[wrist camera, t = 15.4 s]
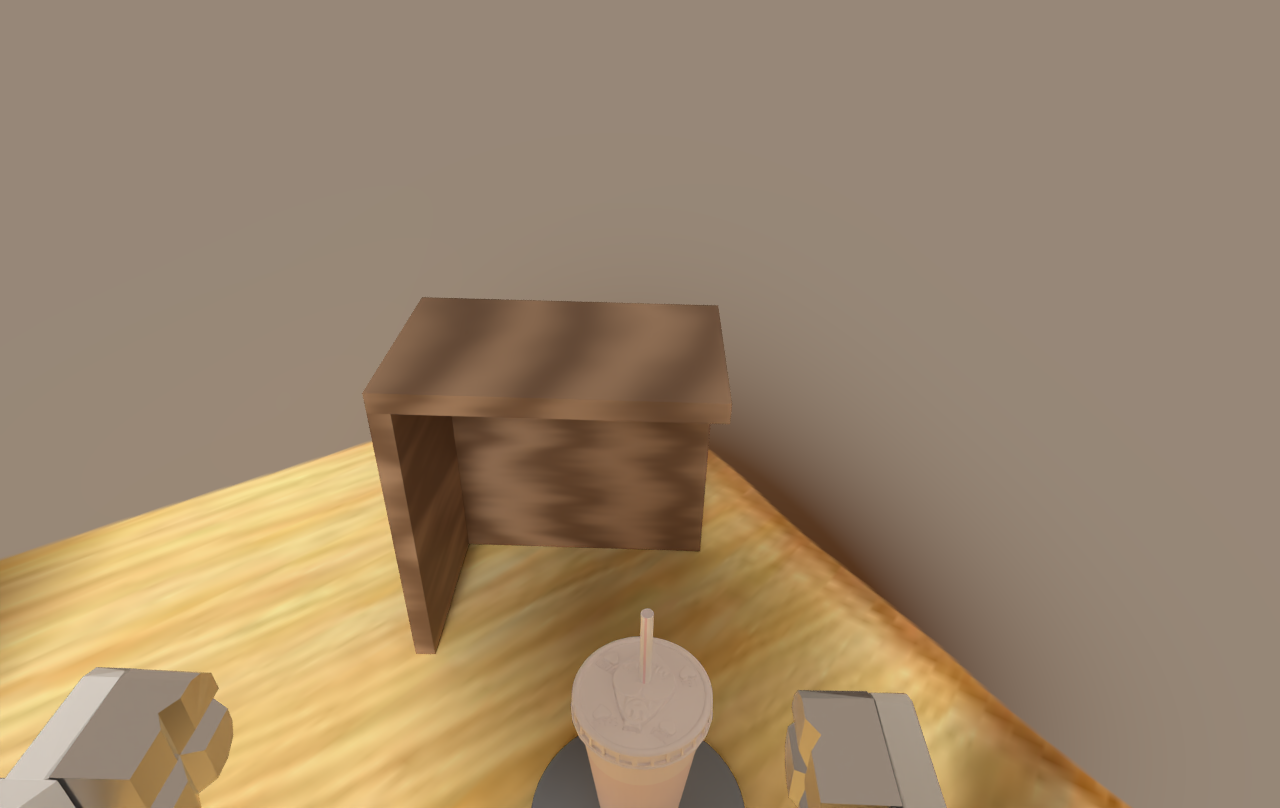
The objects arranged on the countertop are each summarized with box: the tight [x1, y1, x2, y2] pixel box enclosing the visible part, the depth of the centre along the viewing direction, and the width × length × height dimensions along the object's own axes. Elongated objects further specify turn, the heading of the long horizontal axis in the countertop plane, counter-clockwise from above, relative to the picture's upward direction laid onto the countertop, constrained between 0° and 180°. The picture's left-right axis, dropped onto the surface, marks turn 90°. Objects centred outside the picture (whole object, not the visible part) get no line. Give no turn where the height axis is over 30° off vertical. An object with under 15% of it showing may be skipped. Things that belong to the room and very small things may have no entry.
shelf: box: [362, 297, 732, 654], centre depth 48 cm, size 18×11×19 cm, turn 89°
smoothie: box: [571, 609, 713, 808], centre depth 36 cm, size 6×6×14 cm
